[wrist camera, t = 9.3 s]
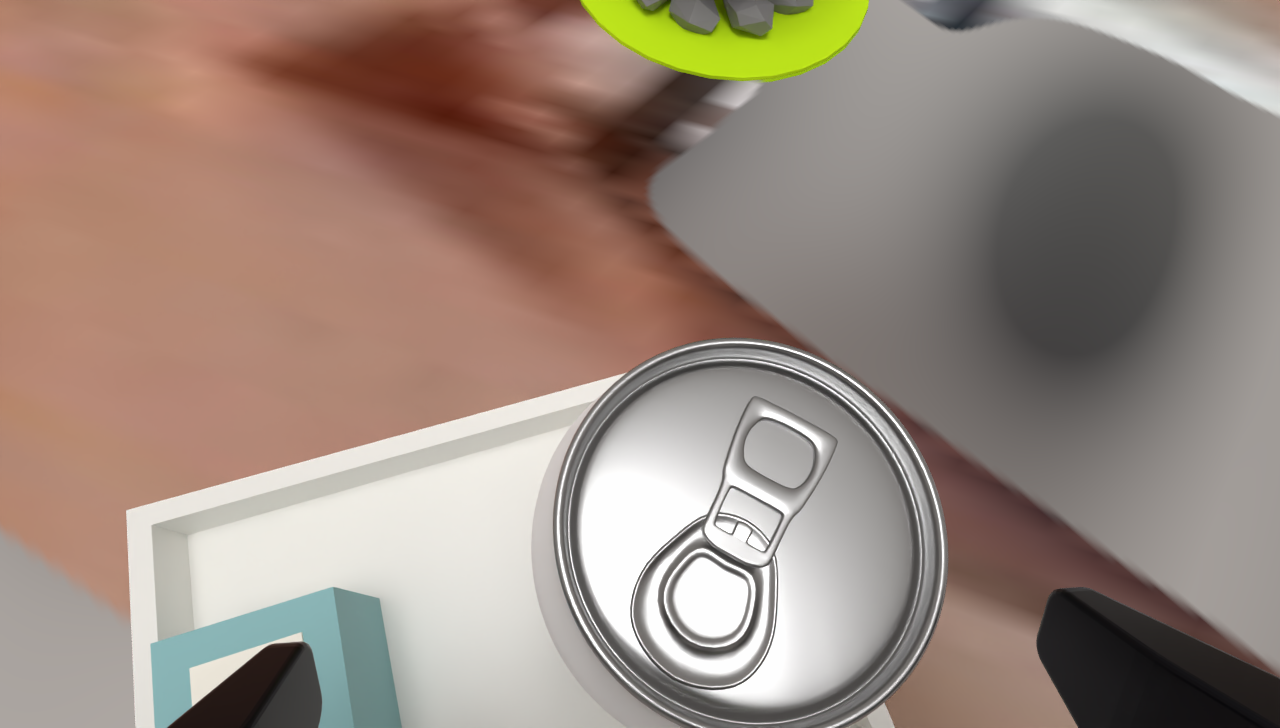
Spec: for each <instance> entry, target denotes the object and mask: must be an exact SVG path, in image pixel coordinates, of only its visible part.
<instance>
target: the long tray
mask: <svg viewBox="0 0 1280 728" xmlns="http://www.w3.org/2000/svg"><path fill="white" fill-rule="evenodd" d="M625 374H626V373H625ZM625 374H621V375H617V376H614V377H610V378H607V379H603V380H599V381H596V382H592V383H588V384H585V385H581V386H577V387H574V388H570V389H566V390H563V391H559V392H556V393H552V394H548V395H545V396H541V397H537V398H534V399H530V400H526V401H523V402H519V403H515V404H512V405H508V406H505V407H501V408H497V409H494V410H490V411H486V412H483V413H479V414H475V415H472V416H468V417H465V418H461V419H457V420H454V421H450V422H446V423H443V424H439V425H435V426H432V427H428V428H424V429H421V430H417V431H414V432H410V433H406V434H403V435H399V436H395V437H392V438H388V439H384V440H381V441H377V442H374V443H370V444H366V445H363V446H359V447H355V448H352V449H348V450H344V451H341V452H337V453H333V454H330V455H326V456H323V457H319V458H315V459H312V460H308V461H304V462H301V463H297V464H293V465H290V466H286V467H283V468H279V469H275V470H272V471H268V472H264V473H261V474H257V475H253V476H250V477H246V478H242V479H239V480H235V481H232V482H228V483H224V484H221V485H217V486H213V487H210V488H206V489H202V490H199V491H195V492H191V493H188V494H184V495H181V496H177V497H173V498H170V499H166V500H162V501H159V502H155V503H151V504H148V505H144V506H141V507H137V508H133V509H130V510H126V514H127V538H128V561H129V585H130V608H131V631H132V653H133V654H132V655H133V678H134V702H135V724H136V728H155V723H154V704H153V685H152V666H151V647H150V644H151V643H154V642H157V641H161V640H164V639H167V638H170V637H173V636H177V635H180V634H183V633H186V632H189V631H193V630H196V629H199V628H202V627H205V626H209V625H212V624H215V623H218V622H221V621H225V620H228V619H231V618H234V617H237V616H241V615H244V614H247V613H250V612H253V611H257V610H260V609H263V608H266V607H269V606H273V605H276V604H279V603H282V602H285V601H288V600H292V599H295V598H298V597H301V596H304V595H308V594H311V593H314V592H317V591H320V590H324V589H327V588H330V587H337V588H341V589H344V590H348V591H352V592H356V593H360V594H364V595H368V596H372V597H376V598H379V599H380V605H381V611H382V616H383V622H384V628H385V634H386V639H387V645H388V651H389V657H390V662H391V668H392V674H393V679H394V685H395V691H396V697H397V702H398V708H399V714H400V720H401V725H402V728H627V727H626V726H624V725H623V724H622V723H620V722H619V721H617V720H616V719H615V718H614V717H612V716H611V715H610V714H609V713H607V712H606V711H605V710H604V709H603V708H602V707H601V706H600V705H599V704H598V703H597V702H596V701H595V700H594V699H593V698H592V697H591V696H590V695H589V694H588V693H587V692H586V691H585V690H584V689H583V687H582V686H581V685H580V684H579V682H578V681H577V680H576V679H575V677H574V676H573V675H572V673H571V672H570V670H569V669H568V667H567V666H566V664H565V663H564V661H563V659H562V658H561V656H560V654H559V652H558V650H557V649H556V647H555V645H554V643H553V641H552V638H551V636H550V634H549V632H548V629H547V627H546V624H545V621H544V618H543V616H542V613H541V609H540V606H539V602H538V598H537V594H536V589H535V584H534V577H533V569H532V555H531V540H532V526H533V518H534V512H535V507H536V502H537V498H538V494H539V490H540V487H541V483H542V480H543V477H544V475H545V472H546V470H547V467H548V465H549V462H550V460H551V458H552V456H553V454H554V452H555V450H556V448H557V447H558V445H559V443H560V442H561V440H562V438H563V437H564V435H565V434H566V432H567V431H568V429H569V428H570V427H571V425H572V424H573V423H574V422H575V420H576V419H577V418H578V417H579V416H580V415H581V413H582V412H583V411H584V410H585V409H586V408H587V407H588V406H589V405H590V404H591V403H592V402H593V401H595V400H596V399H597V398H598V397H599V396H600V395H602V394H603V393H604V392H605V391H607V390H608V389H609V388H610V387H611V386H612V385H613V384H614V383H615V382H616V381H617V380H619V379H620V378H621V377H622V376H623V375H625ZM848 728H895V727H894V724H893V722H892V720H891V717H890V715H889V712H888V710H887V708H886V705H885V703H883V704H882V705H881V706H880V707H878V708H877V709H876V710H874V711H873V712H872V713H870V714H869V715H867V716H866V717H864V718H863V719H861V720H860V721H858V722H856V723H854V724H852V725H851V726H849V727H848Z"/></svg>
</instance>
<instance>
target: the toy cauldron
mask: <svg viewBox="0 0 1280 728" xmlns="http://www.w3.org/2000/svg"><path fill="white" fill-rule="evenodd" d="M580 1H581V4H582V6H583V7H584V8H585V9H586V10H587V12H588V13H589V14H590V15H591V17H592V18H593V19H594V20H595V22H596V23H597V24H598V25H599V26H600V27H601V28H602V29H603V30H605V31H606V32H607V33H608V34H609V35H611V36H612V37H613V38H614V39H615V40H617V41H618V42H619V43H620V44H622V45H623V46H625V47H627V48H629V49H630V50H632V51H634V52H636V53H637V54H639V55H641V56H642V57H644V58H646V59H648V60H650V61H653V62H655V63H658V64H660V65H663V66H666V67H668V68H671V69H673V70H676V71H679V72H683V73H688V74H692V75H697V76H701V77H705V78H710V79H723V80H736V81H749V80H761V83H762V82H773V81H777V80H782V79H786V78H790V77H794V76H798V75H801V74H804V73H806V72H808V71H810V70H812V69H815V68H817V67H819V66H821V65H823V64H825V63H827V62H828V61H829V60H831V59H832V58H833V57H835V56H836V55H837V54H839V53H840V52H841V51H843V50H844V49H845V48H846V47H847V46H848V44H849V43H850V42H851V41H852V39H853V38H854V37H855V36H856V34H857V33H858V32H859V30H860V27H861V25H862V22H863V20H864V17H865V15H866V13H867V9H868V3H869V0H580Z"/></svg>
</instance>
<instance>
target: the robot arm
mask: <svg viewBox="0 0 1280 728" xmlns="http://www.w3.org/2000/svg"><path fill="white" fill-rule="evenodd" d="M1036 643H1037V651H1038V654H1039V657H1040V660H1041V662H1042V664H1043V665H1044V667H1045V669H1046V671H1047V673H1048V674H1049V676H1050V678H1051V680H1052V682H1053V683H1054V685H1055V687H1056V689H1057V690H1058V692H1059V694H1060V696H1061V698H1062V699H1063V701H1064V703H1065V705H1066V707H1067V708H1068V710H1069V712H1070V714H1071V716H1072V717H1073V719H1074V721H1075V723H1076V724H1077V726H1078V728H1280V678H1279V677H1277V676H1275V675H1272V674H1270V673H1268V672H1266V671H1264V670H1262V669H1260V668H1258V667H1255V666H1253V665H1251V664H1249V663H1247V662H1245V661H1243V660H1241V659H1239V658H1236V657H1234V656H1232V655H1230V654H1228V653H1226V652H1224V651H1222V650H1219V649H1217V648H1215V647H1213V646H1211V645H1209V644H1207V643H1205V642H1203V641H1200V640H1198V639H1196V638H1194V637H1192V636H1190V635H1188V634H1186V633H1183V632H1181V631H1179V630H1177V629H1175V628H1173V627H1171V626H1169V625H1167V624H1164V623H1162V622H1160V621H1158V620H1156V619H1154V618H1152V617H1150V616H1148V615H1145V614H1143V613H1141V612H1139V611H1137V610H1135V609H1133V608H1131V607H1128V606H1126V605H1124V604H1122V603H1120V602H1118V601H1116V600H1114V599H1112V598H1109V597H1107V596H1105V595H1103V594H1101V593H1099V592H1097V591H1095V590H1092V589H1090V588H1085V587H1076V588H1062V589H1056V590H1054V591H1053V592H1052V593H1051V594H1050V595H1049V597H1048V600H1047V603H1046V607H1045V610H1044V614H1043V617H1042V621H1041V624H1040V628H1039V631H1038V635H1037V640H1036ZM321 713H322V693H321V688H320V684H319V679H318V674H317V670H316V665H315V660H314V656H313V652H312V649H311V647H310V645H309V644H308V643H306V642H302V641H300V642H286V643H274V644H270V645H268V646H266V647H265V648H263V649H262V650H261V651H259V652H258V653H257V654H256V655H254V656H253V657H252V658H251V659H250V660H248V661H247V662H246V663H245V664H244V665H242V666H241V667H240V668H239V669H237V670H236V671H235V672H234V673H233V674H231V675H230V676H229V677H228V678H226V679H225V680H224V681H223V682H222V683H220V684H219V685H218V686H217V687H215V688H214V689H213V690H212V691H211V692H209V693H208V694H207V695H206V696H205V697H203V698H202V699H201V700H200V701H198V702H197V703H196V704H195V705H194V706H192V707H191V708H190V709H189V710H187V711H186V712H185V713H184V714H183V715H181V716H180V717H179V718H178V719H176V720H175V721H174V722H173V723H172V724H170V725H169V726H168V727H167V728H318V727H319V723H320V718H321Z"/></svg>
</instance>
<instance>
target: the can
mask: <svg viewBox="0 0 1280 728" xmlns="http://www.w3.org/2000/svg"><path fill="white" fill-rule="evenodd" d="M531 555H532V569H533V577H534V584H535V589H536V594H537V598H538V602H539V606H540V609H541V613H542V616H543V618H544V621H545V624H546V627H547V629H548V632H549V634H550V636H551V638H552V641H553V643H554V645H555V647H556V649H557V650H558V652H559V654H560V656H561V658H562V659H563V661H564V663H565V664H566V666H567V667H568V669H569V670H570V672H571V673H572V675H573V676H574V677H575V679H576V680H577V681H578V682H579V684H580V685H581V686H582V687H583V689H584V690H585V691H586V692H587V693H588V694H589V695H590V696H591V697H592V698H593V699H594V700H595V701H596V702H597V703H598V704H599V705H600V706H601V707H602V708H603V709H604V710H605V711H606V712H607V713H609V714H610V715H611V716H612V717H614V718H615V719H616V720H617V721H619V722H620V723H622V724H623V725H624V726H626V727H627V728H848V727H849V726H851V725H852V724H854V723H856V722H858V721H860V720H861V719H863V718H864V717H866V716H867V715H869V714H870V713H872V712H873V711H874V710H876V709H877V708H878V707H880V706H881V705H882V704H883V703H884V702H886V701H887V700H888V699H889V698H890V697H891V696H892V695H893V694H894V693H895V692H896V691H897V690H898V689H899V688H900V687H901V686H902V684H903V683H904V682H905V681H906V680H907V678H908V677H909V676H910V675H911V673H912V672H913V670H914V669H915V667H916V666H917V665H918V663H919V661H920V660H921V658H922V656H923V655H924V653H925V651H926V649H927V647H928V645H929V643H930V641H931V639H932V636H933V634H934V631H935V629H936V626H937V623H938V620H939V617H940V614H941V610H942V606H943V602H944V597H945V591H946V584H947V574H948V542H947V532H946V525H945V519H944V514H943V510H942V506H941V502H940V498H939V495H938V492H937V489H936V486H935V483H934V480H933V478H932V475H931V473H930V471H929V468H928V466H927V464H926V462H925V460H924V458H923V456H922V454H921V452H920V451H919V449H918V447H917V445H916V444H915V442H914V440H913V439H912V437H911V436H910V434H909V433H908V431H907V430H906V429H905V427H904V426H903V425H902V423H901V422H900V421H899V419H898V418H897V417H896V416H895V415H894V413H893V412H892V411H891V410H890V409H889V408H888V407H887V406H886V405H885V404H884V403H883V402H882V401H881V400H880V399H879V398H878V397H877V396H876V395H875V394H874V393H873V392H872V391H871V390H870V389H868V388H867V387H866V386H865V385H864V384H862V383H861V382H860V381H858V380H857V379H856V378H854V377H853V376H851V375H850V374H849V373H847V372H845V371H844V370H842V369H841V368H839V367H837V366H836V365H834V364H832V363H830V362H828V361H826V360H824V359H822V358H820V357H818V356H816V355H814V354H811V353H809V352H806V351H804V350H801V349H798V348H795V347H792V346H788V345H785V344H781V343H777V342H771V341H766V340H759V339H749V338H720V339H710V340H703V341H698V342H693V343H689V344H685V345H682V346H679V347H675V348H673V349H670V350H667V351H665V352H662V353H660V354H658V355H656V356H654V357H652V358H650V359H648V360H646V361H644V362H643V363H641V364H639V365H638V366H636V367H635V368H633V369H632V370H630V371H629V372H627V373H626V374H625V375H623V376H622V377H621V378H620V379H619V380H617V381H616V382H615V383H614V384H613V385H612V386H611V387H610V388H609V389H608V390H607V391H605V392H604V393H603V394H602V395H600V396H599V397H598V398H597V399H596V400H595V401H593V402H592V403H591V404H590V405H589V406H588V407H587V408H586V409H585V410H584V411H583V412H582V413H581V415H580V416H579V417H578V418H577V419H576V420H575V422H574V423H573V424H572V425H571V427H570V428H569V429H568V431H567V432H566V434H565V435H564V437H563V438H562V440H561V442H560V443H559V445H558V447H557V448H556V450H555V452H554V454H553V456H552V458H551V460H550V462H549V465H548V467H547V470H546V472H545V475H544V477H543V480H542V483H541V487H540V490H539V494H538V498H537V502H536V507H535V512H534V518H533V526H532V540H531Z"/></svg>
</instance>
